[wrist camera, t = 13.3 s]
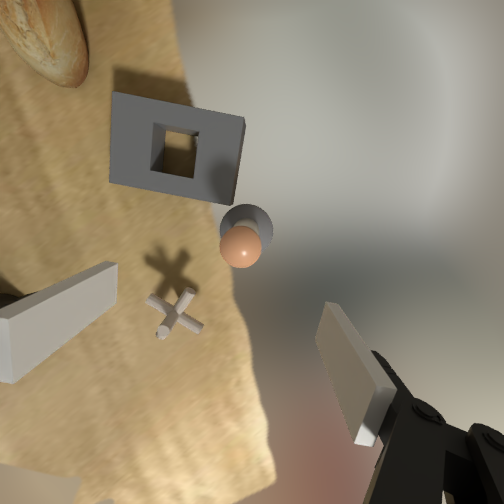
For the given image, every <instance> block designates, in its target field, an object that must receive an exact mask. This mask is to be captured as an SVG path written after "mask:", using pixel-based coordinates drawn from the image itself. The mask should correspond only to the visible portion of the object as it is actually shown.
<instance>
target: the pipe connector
mask: <svg viewBox="0 0 504 504" xmlns="http://www.w3.org/2000/svg"><path fill="white" fill-rule="evenodd" d="M195 294H196V292H195V291H194V290H193V289H192V288H190V287H186V288H185V290H184V291H183V293H182V294H181V296H180V297H179V299H178V300H177V302H176V303H175V305H174V306H173V305H171V304H170V303H168V302H166V301H165V300H163V299H162V298H160V297H158V296H157V295H155V294H153V293H151V295H150V296H149V297H148V298H147V300H146V302H145V303H147V304H148V305H150V306H152V307H153V308H155V309H157V310H158V311H160V312H162V313H163V314H165V315H167V316H166V318H165V319H164V320H163V322H162V323H161V324H160V326H159V327H158V329H157V332H156V337H157V338H159V339H165V338H166V337H167V335H169V333H170V332H171V330H172V328H173V327H174V325H175V324H176V322H178V323H180V324H182V325H183V326H185V327H186V328H188V329H190V330H191V331H193V332H195V333H196V334H199V333H200V331H201V330H202V328H203V326H204V324H202V323H201V322H199V321H197V320H196V319H194V318H193V317H191V316H189V315H188V314H186V313H184V312H183V311H184V310H185V309H186V307H187V306H188V304H189V303H190V301H191V300H192V298H193V297H194V295H195Z"/></svg>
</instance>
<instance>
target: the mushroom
mask: <svg viewBox="0 0 504 504" xmlns="http://www.w3.org/2000/svg"><path fill="white" fill-rule="evenodd" d="M220 253H221V255H222V257H223V259H224V260H225V261H226V262H227V263H228V264H230V265H231V266H234V267H238V268H243V267H248V266H250V265H252V264H253V263H255V262H256V261H257V260H258V258H259V256H260V254H261V240H260V237H259V227H258V225H257V223H256V222H255V221H254V220H252V219H249V218H243V219H240V220H239V221H237V222H236V224H235V225H234V226H233V227H232V228H230V229H229V230H228V231H227V232H226V233H225V234H224V235H223V237H222V239H221V241H220Z"/></svg>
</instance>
